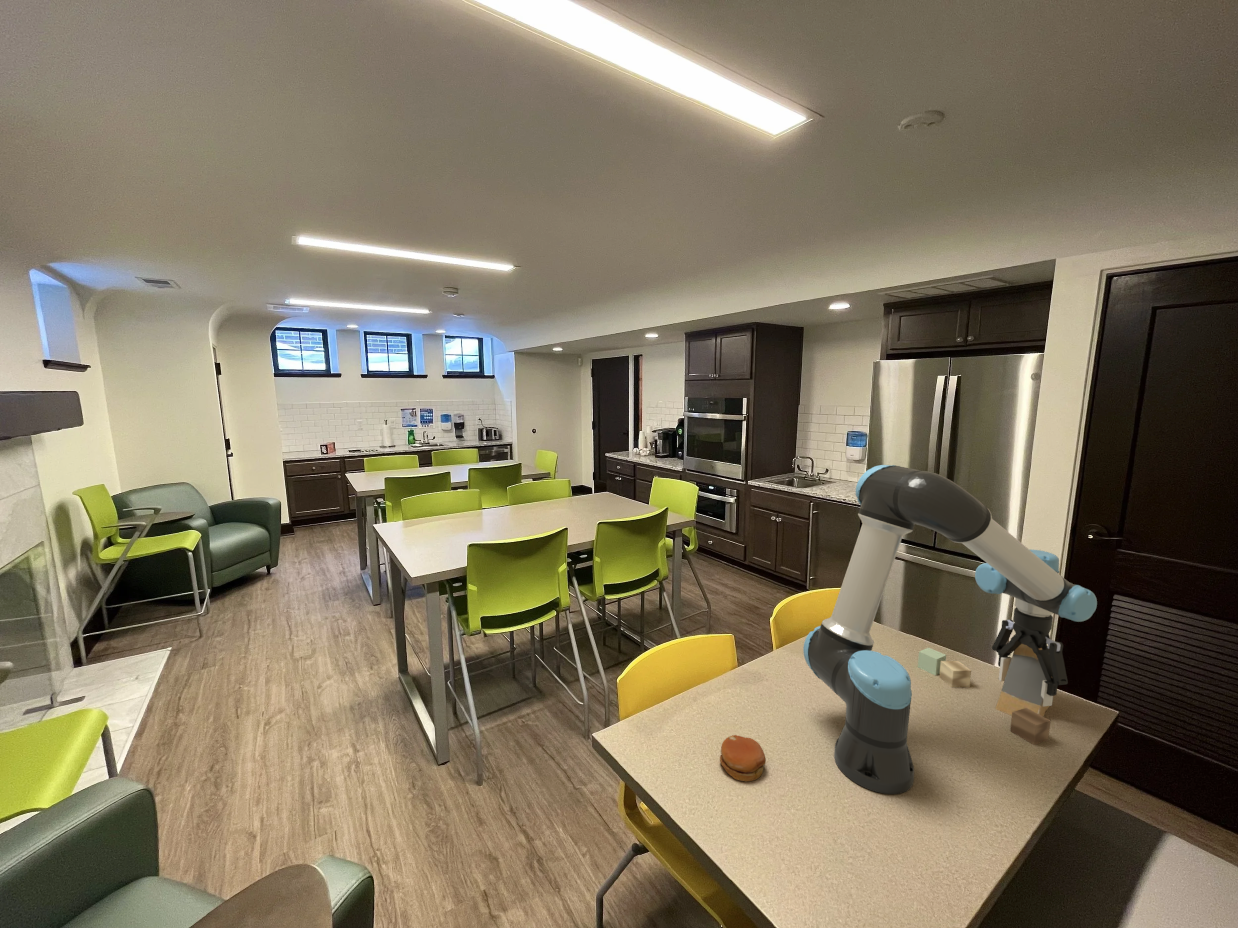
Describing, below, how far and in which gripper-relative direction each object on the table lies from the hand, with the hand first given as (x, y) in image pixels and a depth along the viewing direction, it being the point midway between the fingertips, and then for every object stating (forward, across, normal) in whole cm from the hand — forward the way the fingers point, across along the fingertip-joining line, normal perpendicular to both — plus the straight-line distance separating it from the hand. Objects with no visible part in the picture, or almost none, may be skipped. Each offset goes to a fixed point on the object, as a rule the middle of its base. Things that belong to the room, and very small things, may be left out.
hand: (1024, 692), depth 126 cm
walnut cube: (+3, -11, +11) cm, 16 cm away
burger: (+3, -9, +82) cm, 82 cm away
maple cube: (+3, +11, +10) cm, 15 cm away
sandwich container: (+3, -1, +1) cm, 4 cm away
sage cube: (+3, +18, +11) cm, 21 cm away
